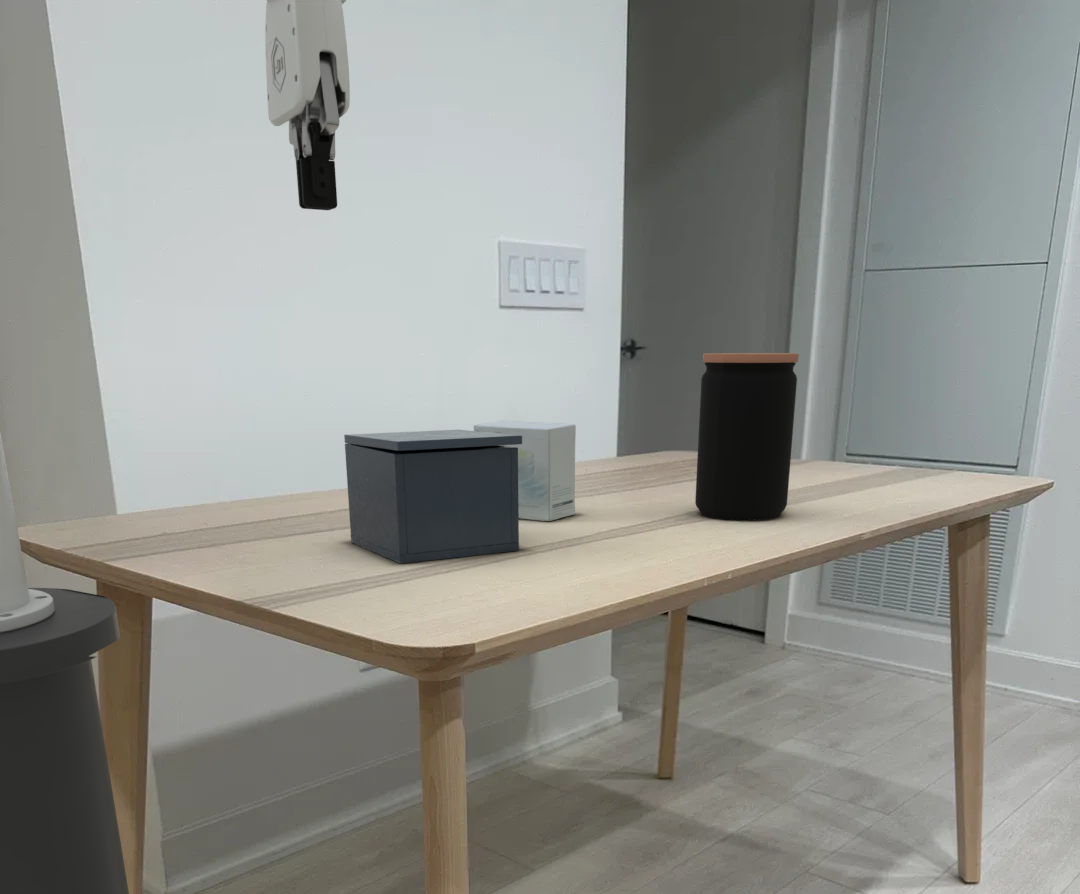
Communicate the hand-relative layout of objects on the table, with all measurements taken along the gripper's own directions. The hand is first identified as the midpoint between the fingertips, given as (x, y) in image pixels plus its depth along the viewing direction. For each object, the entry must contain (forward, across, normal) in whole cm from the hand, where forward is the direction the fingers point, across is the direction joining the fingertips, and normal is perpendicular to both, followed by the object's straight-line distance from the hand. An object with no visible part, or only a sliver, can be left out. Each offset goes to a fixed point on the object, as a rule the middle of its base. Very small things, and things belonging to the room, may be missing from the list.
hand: (318, 208), depth 96 cm
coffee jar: (+31, +10, +46) cm, 57 cm away
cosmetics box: (+31, -3, +24) cm, 40 cm away
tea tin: (+31, +10, +6) cm, 33 cm away
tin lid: (+21, +10, +6) cm, 24 cm away
